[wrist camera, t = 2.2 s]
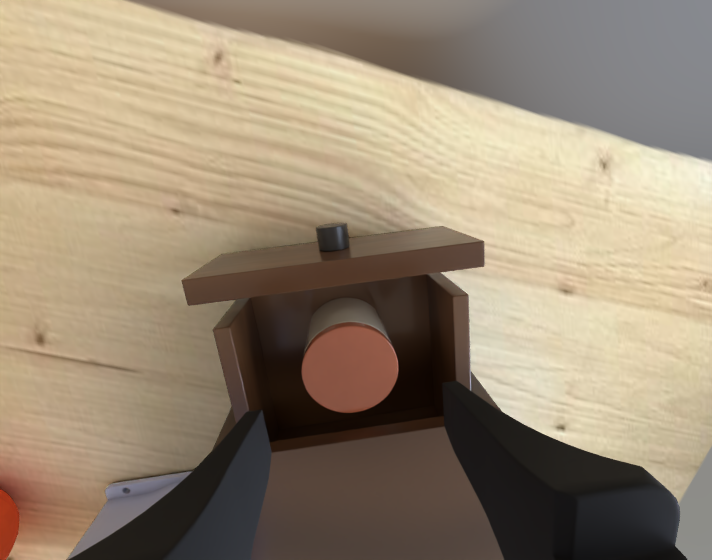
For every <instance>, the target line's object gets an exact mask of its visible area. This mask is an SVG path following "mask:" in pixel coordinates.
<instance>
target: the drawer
mask: <svg viewBox="0 0 712 560" xmlns="http://www.w3.org/2000/svg"><path fill="white" fill-rule="evenodd" d="M316 232H317V239H318V242H313V243H305V244H297V245H289V246H281V247H274V248H266V249H258V250H250V251H242V252H234V253H226V254H221V255H219V256H218V257H216V258H215V259H213V260H212V261H210V262H209V263H207V264H206V265H204V266H203V267H201V268H200V269H198V270H197V271H195V272H193V273H192V274H190V275H189V276H187V277H186V278H184V279H183V280H182V284H183V288H184V292H185V296H186V299H187V303H188V305H189V306H190V305H198V304H205V303H213V302H220V301H228V300H235V299H237V300H236V301H235V302H234V304H233V305H232V306H231V307H230V309H229V310H228V311H227V312H226V314H225V315H224V316H223V317H222V319H221V320H220V321H219V322H218V324H217V325H216V326H215V327H214V329H213V332H214V336H215V340H216V344H217V348H218V352H219V356H220V361H221V365H222V369H223V373H224V377H225V381H226V385H227V389H228V393H229V397H230V401H231V405H232V409H233V413H234V417H235V421H236V423H237V422H238V421H239V420H240V419H241V417H242V416H243V415H244V414H245V413H246V412H247V411H254V410H261V409H262V411H263V415H264V420H265V424H266V429H267V433H268V438H269V442H273V441H279V440H286V439H293V438H299V437H306V436H312V435H319V434H326V433H332V432H339V431H346V430H352V429H359V428H366V427H372V426H379V425H385V424H392V423H399V422H405V421H412V420H419V419H425V418H432V417H439V416H444V410H443V391H442V383H445V382H452V381H458V382H459V383H461V384H462V385H464V386H465V387H467V388H468V389H469V390H471V372H470V335H469V298H468V294H467V293H465V292H464V291H463V290H462V289H460V288H459V287H458V286H457V285H455V284H454V283H453V282H452V281H450V280H449V279H448V278H446V277H445V276H444V275H443V274H441V273H440V272H447V271H454V270H462V269H470V268H477V267H484V241H482V240H479V239H477V238H474V237H471V236H468V235H466V234H463V233H460V232H457V231H455V230H452V229H449V228H447V227H444V226H439V227H431V228H424V229H416V230H408V231H400V232H392V233H384V234H376V235H368V236H360V237H353V238H349V236H348V228H347V223H332V224H325V225H321V226H318V227H316ZM346 297H347V298H356V299H360V300H362V301H365V302H367V303H368V304H370V305H371V306H372V307H374V308H375V309H376V310H377V311H378V313H379V314H380V316H381V318H382V320H383V322H384V325H385V327H386V330H387V332H388V335H389V337H390V340H391V342H392V345H393V347H394V350H395V352H396V355H397V358H398V368H399V370H398V376H397V380H396V382H395V385H394V387H393V389H392V390H391V392H390V393H389V394H388V396H387V397H386V398H385V399H384V400H382V401H381V402H380V403H379V404H377V405H375V406H374V407H372V408H369V409H367V410H364V411H360V412H354V413H342V412H336V411H332V410H330V409H327V408H325V407H323V406H321V405H320V404H319V403H317V402H316V401H315V400H314V399H313V398H312V397H311V396H310V394H309V393H308V392H307V390H306V388H305V386H304V383H303V380H302V373H301V370H302V361H303V354H304V347H305V340H306V333H307V327H308V324H309V321H310V319H311V317H312V316H313V314H314V313H315V312H316V311H317V309H319V308H320V307H321V306H322V305H324V304H325V303H327V302H329V301H331V300H334V299H338V298H346Z"/></svg>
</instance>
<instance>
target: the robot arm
mask: <svg viewBox="0 0 712 560" xmlns="http://www.w3.org/2000/svg"><path fill="white" fill-rule="evenodd" d="M442 391H443V410H444V426H445V429H446V432H447V435H448V438H449V440H450V443H451V445H452V448H453V450H454V452H455V454H456V456H457V458H458V460H459V462H460V464H461V466H462V468H463V470H464V472H465V474H466V476H467V478H468V480H469V481H470V483H471V485H472V487H473V489H474V491H475V493H476V495H477V497H478V499H479V501H480V503H481V505H482V507H483V509H484V511H485V513H486V515H487V518H488V520H489V523H490V525H491V528H492V530H493V533H494V535H495V537H496V540H497V542H498V545H499V547H500V550H501V553H502V555H503V558H504V560H687V558H686V557H685V556H684V555H683V554H682V553H681V552H680V551H679V550H678V549H677V548H676V547H675V542H676V537H677V532H678V526H679V521H680V520H679V519H680V507H679V505H678V502H677V499H676V498H675V497H674V496H673V495H672V493H671V492H670V491H669V490H667V489H666V488H665V487H664V486H663V485H662V484H661V483H660V482H659V481H657V480H656V479H655V478H654V477H653V476H652V475H651V474H650V473H648V472H647V471H646V470H645V469H644V468H643V467H640V466H637V465H633V464H629V463H625V462H621V461H617V460H613V459H610V458H606V457H603V456H600V455H596V454H593V453H590V452H587V451H584V450H581V449H579V448H576V447H573V446H570V445H568V444H565V443H563V442H560V441H558V440H556V439H553V438H551V437H549V436H546V435H544V434H542V433H540V432H538V431H536V430H534V429H532V428H530V427H528V426H526V425H524V424H522V423H520V422H518V421H517V420H515V419H513V418H512V417H510V416H508V415H506V414H505V413H503V412H502V411H500V410H498V409H497V408H495V407H494V406H492V405H491V404H489V403H488V402H486V401H485V400H483V399H482V398H480V397H479V396H478V395H476V394H475V393H473V392H472V391H471V390H469V389H468V388H467V387H465V386H464V385H462V384H461V383H459V382H458V381H452V382H445V383H442ZM271 454H272V451H271V447H270V442H269V438H268V433H267V429H266V424H265V420H264V415H263V411H262V409H261V410H254V411H247V412H246V413H245V414H244V415H243V416H242V417H241V419H240V420H239V421H238V422H237V423H236V425H235V426H234V427H233V428H232V429H231V430H230V432H229V433H228V434H227V435H226V436H225V437H224V439H223V440H222V441H221V442H220V443H219V444H218V445H217V447H216V448H215V449H214V450H213V451H212V452H211V453H210V454H209V455H208V456H207V457H206V458H205V459H204V460H203V461H202V462H201V463H200V464H199V465H198V466H197V467H196V468H195V469H194V470H193V471H189V472H183V473H176V474H170V475H163V476H157V477H150V478H144V479H137V480H131V481H124V482H117V483H112V484H110V485H108V487H107V488H106V490H105V494H106V497H107V499H108V501H107V502H106V504H105V505H104V506H103V508H102V509H101V511H100V512H99V514H98V515H97V516H96V518H95V519H94V521H93V522H92V524H91V525H90V527H89V528H88V529H87V531H86V532H85V534H84V535H83V537H82V538H81V539H80V541H79V542H78V544H77V545H76V547H75V548H74V549H73V551H72V552H71V554H70V555H69V557H68V558H67V559H66V560H251V553H252V548H253V543H254V538H255V534H256V530H257V526H258V522H259V518H260V514H261V509H262V505H263V501H264V497H265V493H266V488H267V484H268V480H269V473H270V464H271ZM128 488H129V489H128Z"/></svg>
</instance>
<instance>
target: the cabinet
mask: <svg viewBox="0 0 712 560" xmlns="http://www.w3.org/2000/svg"><path fill="white" fill-rule="evenodd" d="M470 372H471V371H470ZM471 391H472V392H473V393H475V394H476V395H478V396H479V397H480V398H482V399H483V400H485V401H486V402H488V403H489V404H491V405H492V406H494V407H495V408H497V409H498V410H500V411H501V409H500V408H498V406H497V405H496V403H495V402H494V401H493V399H492V398H491V397H490V396H489V394H488V393H487V392H486V390H485V389H484V388H483V386H482V385H481V384H480V382H479V381H478V380H477V379H476V377H475V376H474V375H473V373H472V372H471ZM235 425H236V421H235V417H234V413H233V409H232V407H231V409H230V411H229V414H228V416H227V418H226V420H225V423H224V425H223V427H222V430H221V432H220V434H219V437H218V439H217V441H216V443H215V446H214V448H213V450H214V449H215V448H216V447H217V445H218V444H219V443H220V442H221V441H222V440H223V439H224V437H225V436H226V435H227V434H228V433H229V432H230V430H231V429H232V428H233V427H234V426H235ZM270 447H271V451H272V454H271V464H270V473H269V480H268V484H267V488H266V493H265V497H264V501H263V505H262V509H261V514H260V518H259V522H258V526H257V530H256V534H255V538H254V543H253V548H252V553H251V560H504V558H503V555H502V553H501V550H500V547H499V545H498V542H497V540H496V537H495V535H494V533H493V530H492V528H491V525H490V523H489V520H488V518H487V515H486V513H485V511H484V509H483V507H482V505H481V503H480V501H479V499H478V497H477V495H476V493H475V491H474V489H473V487H472V485H471V483H470V481H469V480H468V478H467V476H466V474H465V472H464V470H463V468H462V466H461V464H460V462H459V460H458V458H457V456H456V454H455V452H454V450H453V448H452V445H451V443H450V440H449V438H448V435H447V432H446V429H445V426H444V416H439V417H432V418H425V419H419V420H412V421H405V422H399V423H392V424H385V425H379V426H372V427H366V428H359V429H352V430H346V431H339V432H332V433H326V434H319V435H312V436H306V437H299V438H293V439H286V440H279V441H273V442H270Z"/></svg>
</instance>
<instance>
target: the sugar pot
mask: <svg viewBox="0 0 712 560" xmlns="http://www.w3.org/2000/svg"><path fill="white" fill-rule="evenodd" d="M398 370H399V368H398V358H397V355H396V352H395V350H394V347H393V345H392V342H391V340H390V337H389V335H388V332H387V330H386V327H385V325H384V322H383V320H382V318H381V316H380V314H379V313H378V311H377V310H376V309H375V308H374V307H372V306H371V305H370V304H368V303H367V302H365V301H362V300H360V299H356V298H347V297H346V298H338V299H334V300H331V301H329V302H327V303H325V304H324V305H322V306H321V307H320V308H319V309H317V311H316V312H315V313H314V314H313V316H312V317H311V319H310V321H309V324H308V327H307V333H306V340H305V347H304V354H303V361H302V370H301V373H302V380H303V383H304V386H305V388H306V390H307V392H308V393H309V394H310V396H311V397H312V398H313V399H314V400H315V401H316V402H317V403H319V404H320V405H321V406H323V407H325V408H327V409H330V410H332V411H336V412H342V413H354V412H360V411H364V410H367V409H369V408H372V407H374V406H375V405H377V404H379V403H380V402H381V401H382V400H384V399H385V398H386V397H387V396H388V394H389V393H390V392H391V390H392V389H393V387H394V385H395V382H396V380H397V376H398Z"/></svg>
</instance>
